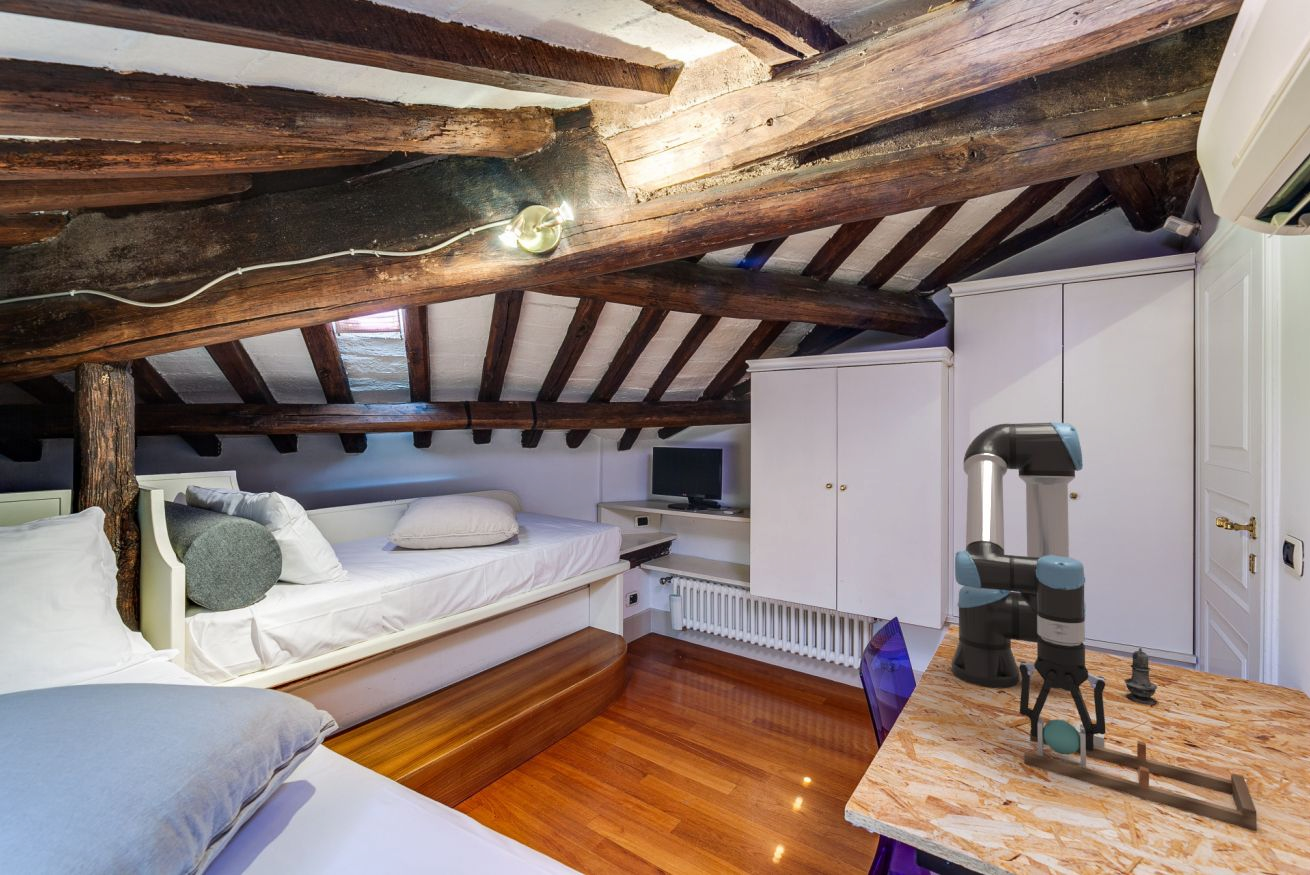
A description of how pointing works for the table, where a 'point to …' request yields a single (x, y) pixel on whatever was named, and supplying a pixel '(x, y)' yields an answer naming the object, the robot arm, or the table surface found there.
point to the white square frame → (1097, 738)
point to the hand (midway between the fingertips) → (1061, 759)
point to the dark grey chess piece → (1140, 680)
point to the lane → (1142, 789)
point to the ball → (1061, 736)
